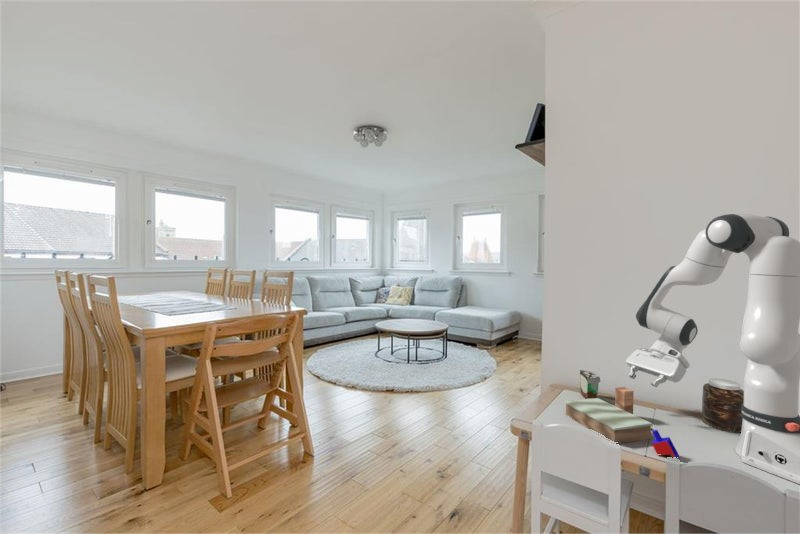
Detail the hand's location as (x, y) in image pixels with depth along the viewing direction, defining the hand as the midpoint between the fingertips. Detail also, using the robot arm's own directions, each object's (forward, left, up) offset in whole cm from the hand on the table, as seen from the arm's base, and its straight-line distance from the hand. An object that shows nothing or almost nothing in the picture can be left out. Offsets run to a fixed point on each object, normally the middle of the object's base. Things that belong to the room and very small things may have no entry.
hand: (641, 381), depth 137 cm
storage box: (-5, +21, -12) cm, 25 cm away
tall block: (0, +8, -12) cm, 15 cm away
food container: (+18, +6, -12) cm, 23 cm away
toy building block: (-25, +19, -12) cm, 34 cm away
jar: (-14, -20, -12) cm, 28 cm away
